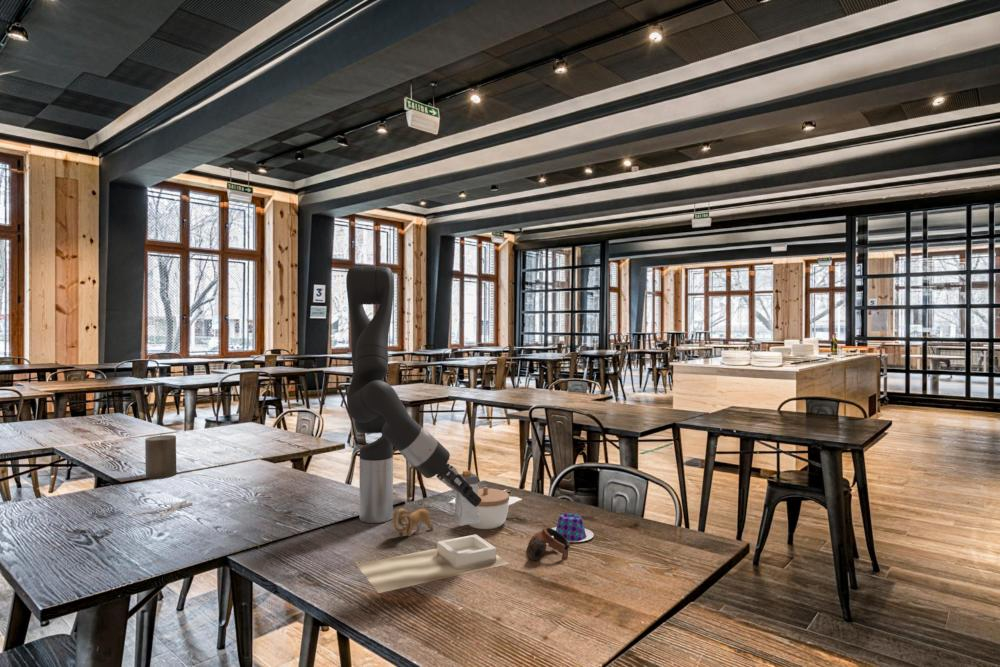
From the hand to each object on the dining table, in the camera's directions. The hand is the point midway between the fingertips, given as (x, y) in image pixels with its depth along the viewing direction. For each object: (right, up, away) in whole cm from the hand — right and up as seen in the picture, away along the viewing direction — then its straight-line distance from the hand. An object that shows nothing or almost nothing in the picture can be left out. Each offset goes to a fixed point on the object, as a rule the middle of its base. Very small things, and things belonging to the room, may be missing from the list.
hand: (474, 500), depth 135 cm
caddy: (-2, -13, -1) cm, 13 cm away
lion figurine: (-16, -14, +16) cm, 27 cm away
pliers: (-91, -14, +36) cm, 99 cm away
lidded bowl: (+2, -14, +23) cm, 27 cm away
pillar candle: (-115, -13, +77) cm, 139 cm away
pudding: (+24, -15, +19) cm, 34 cm away
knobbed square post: (-2, -5, -1) cm, 5 cm away
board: (-9, -14, -4) cm, 17 cm away
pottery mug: (+16, -15, +2) cm, 22 cm away
